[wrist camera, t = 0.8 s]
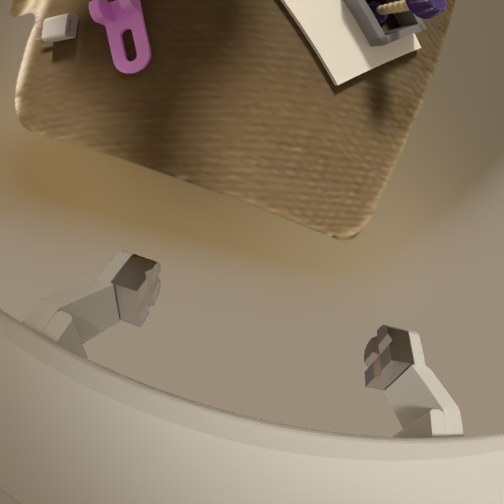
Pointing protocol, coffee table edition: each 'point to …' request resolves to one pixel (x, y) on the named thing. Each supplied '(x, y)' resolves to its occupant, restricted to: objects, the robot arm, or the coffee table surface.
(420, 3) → the toy lamp
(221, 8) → the coffee table surface
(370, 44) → the socket board
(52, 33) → the usb wall charger
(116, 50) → the bracket
